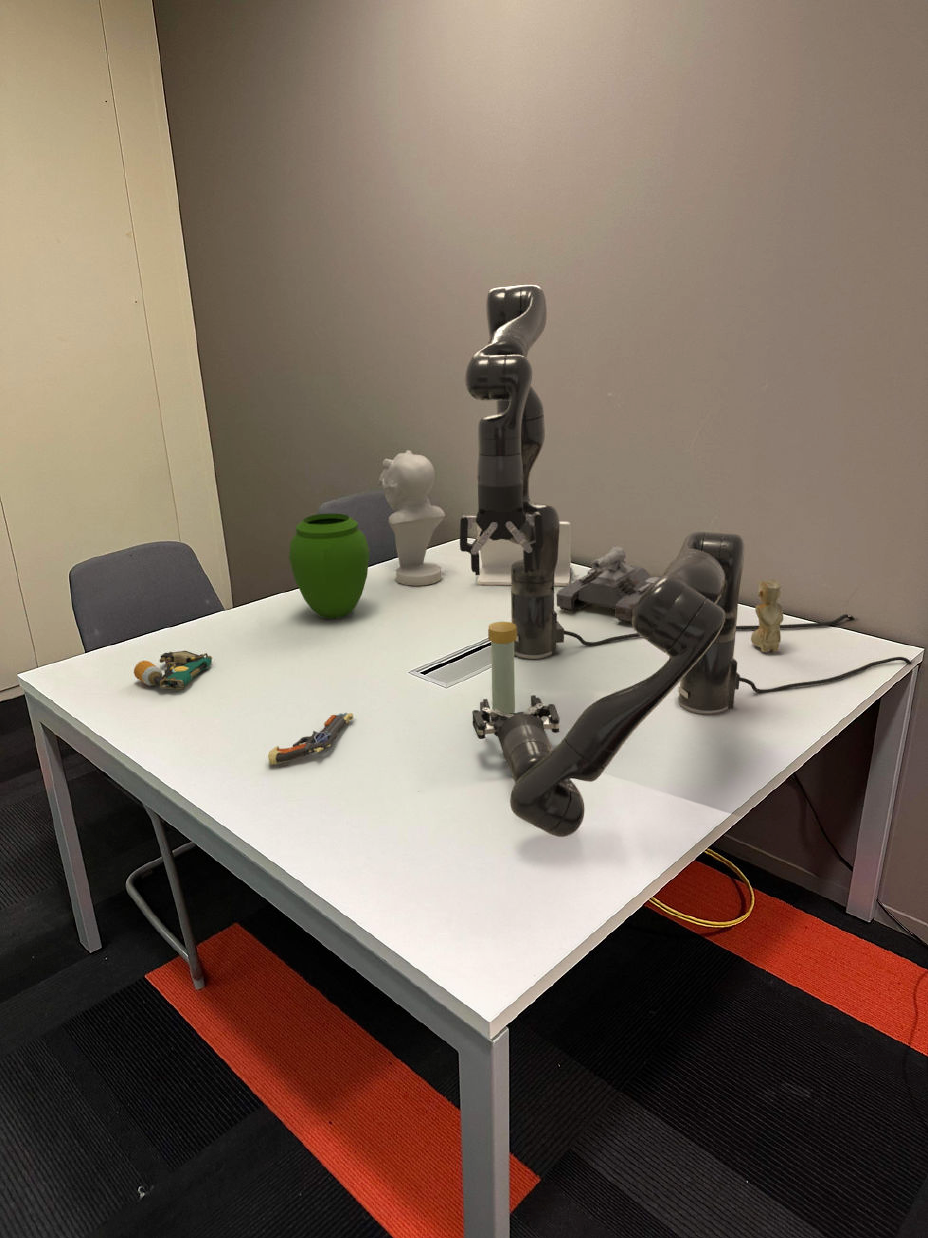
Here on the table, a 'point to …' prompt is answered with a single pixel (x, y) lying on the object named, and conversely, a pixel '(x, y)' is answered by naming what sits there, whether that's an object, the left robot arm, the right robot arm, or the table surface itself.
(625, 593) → the toy
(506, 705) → the jar
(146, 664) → the spray gun
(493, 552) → the tablet stand
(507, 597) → the table surface
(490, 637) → the lid
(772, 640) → the sculpture
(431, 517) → the bust sculpture
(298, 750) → the toy gun
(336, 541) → the vase
